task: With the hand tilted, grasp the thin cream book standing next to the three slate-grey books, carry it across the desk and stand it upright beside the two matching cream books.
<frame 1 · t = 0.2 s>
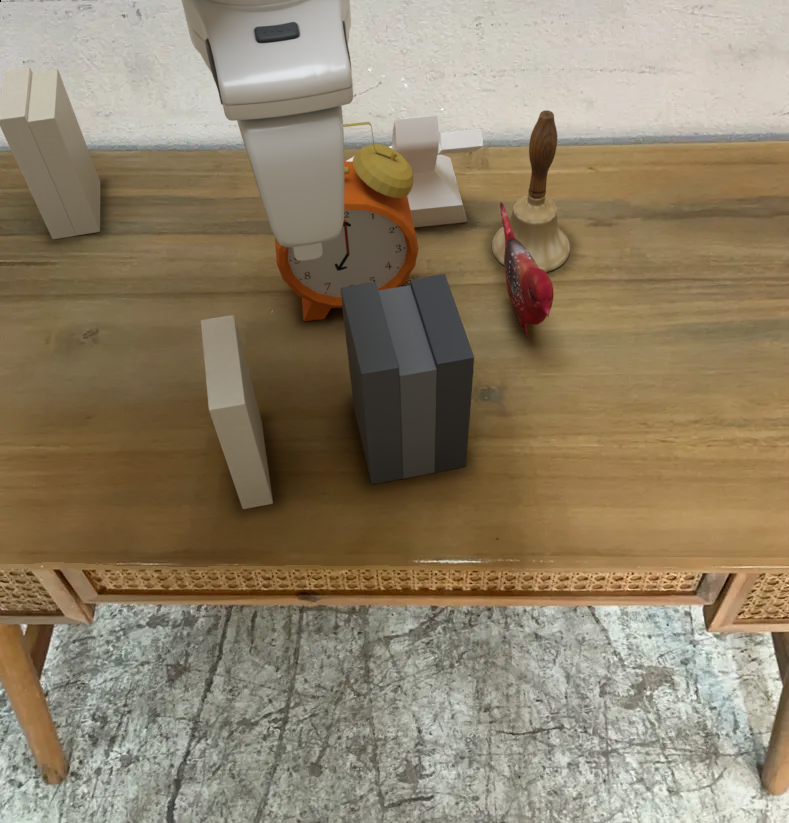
hand: (297, 205, 55), 25 cm above the table, tool pointing down, fingers open, 8 cm apart
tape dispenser: (411, 211, 93), on the table
alarm clock: (351, 299, 85), on the table
white books: (77, 210, 95), on the table
white book: (252, 463, 73), on the table
grey books: (407, 434, 75), on the table
decorative bird figurine: (516, 307, 84), on the table
hand bell: (530, 249, 89), on the table
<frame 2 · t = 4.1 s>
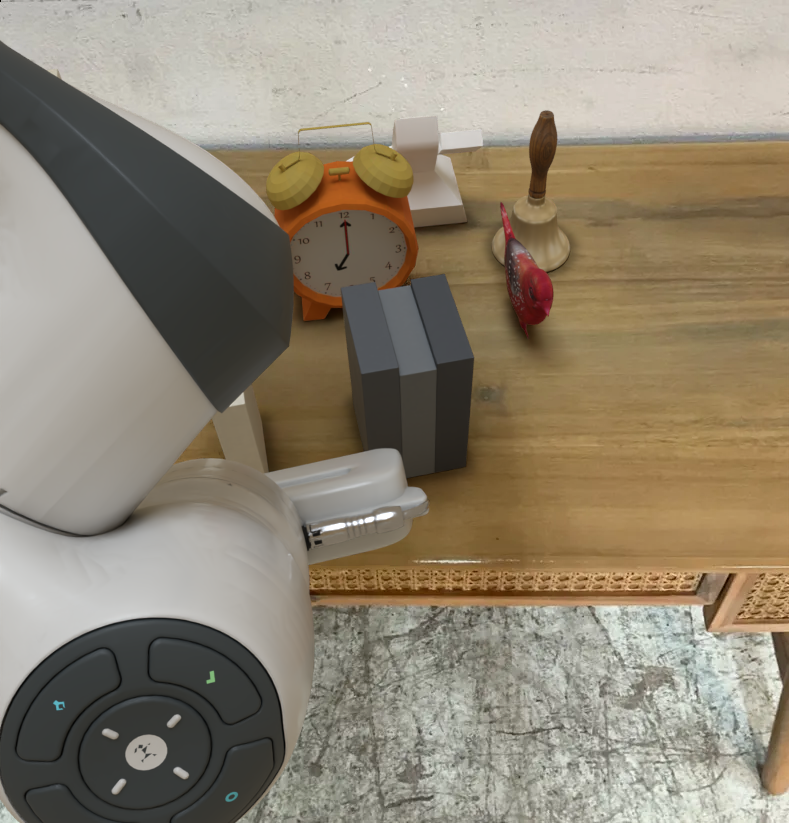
hand: (228, 495, 50), 18 cm above the table, tool tilted 45°, fingers open, 8 cm apart
nothing on the table moved.
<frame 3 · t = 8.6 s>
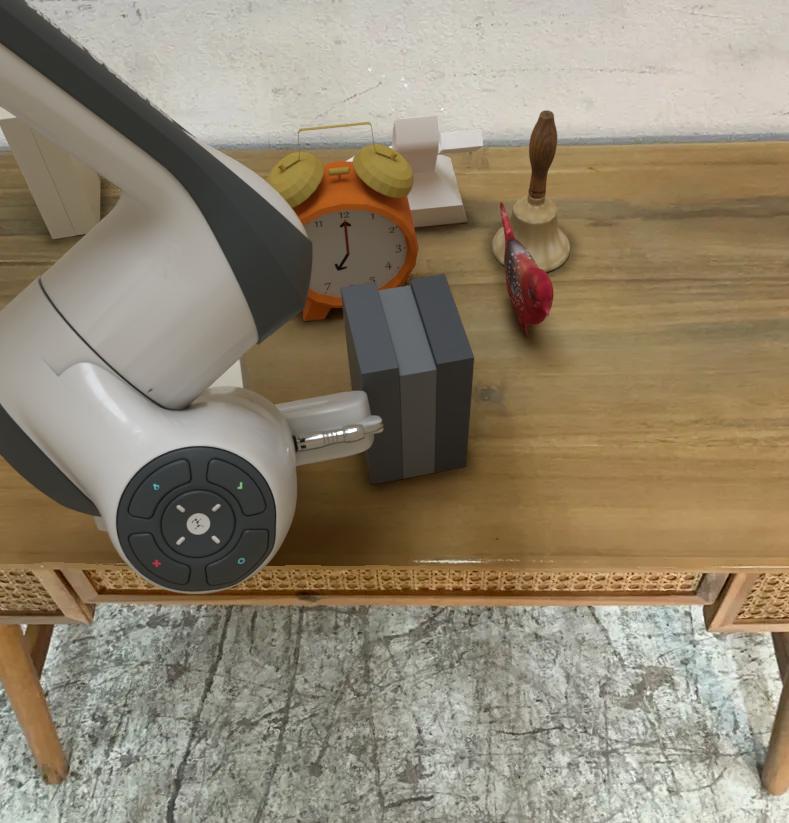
hand: (237, 426, 66), 8 cm above the table, tool tilted 45°, fingers closed on white book, 2 cm apart
white book: (252, 463, 73), on the table, touching gripper
everything else where it was.
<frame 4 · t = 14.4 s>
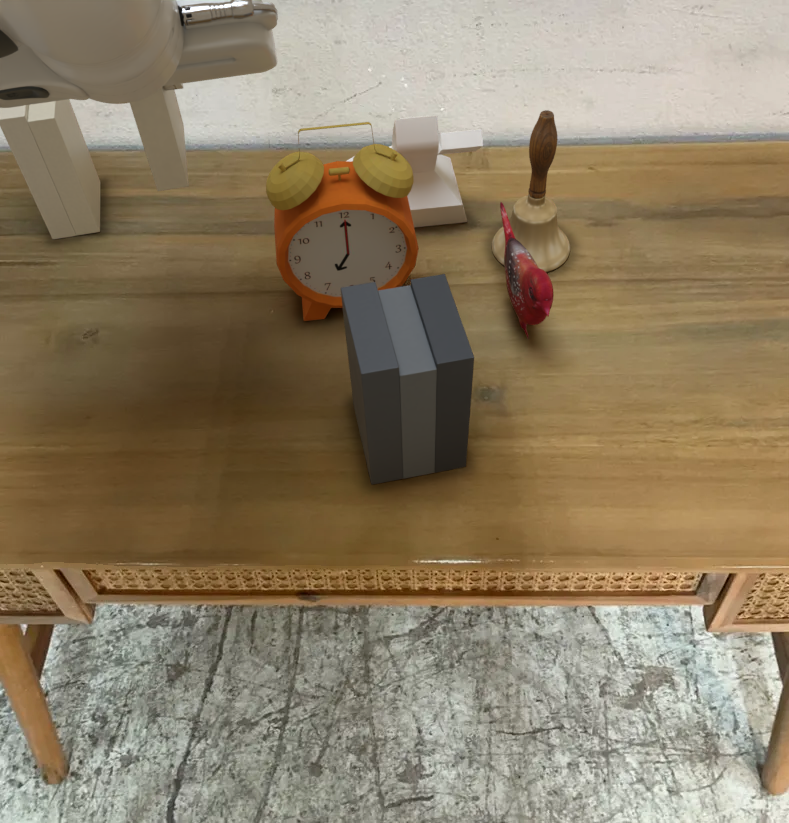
hand: (146, 82, 64), 25 cm above the table, tool tilted 45°, fingers closed on white book, 2 cm apart
white book: (171, 157, 72), point 17 cm above the table, touching gripper
everything else where it was.
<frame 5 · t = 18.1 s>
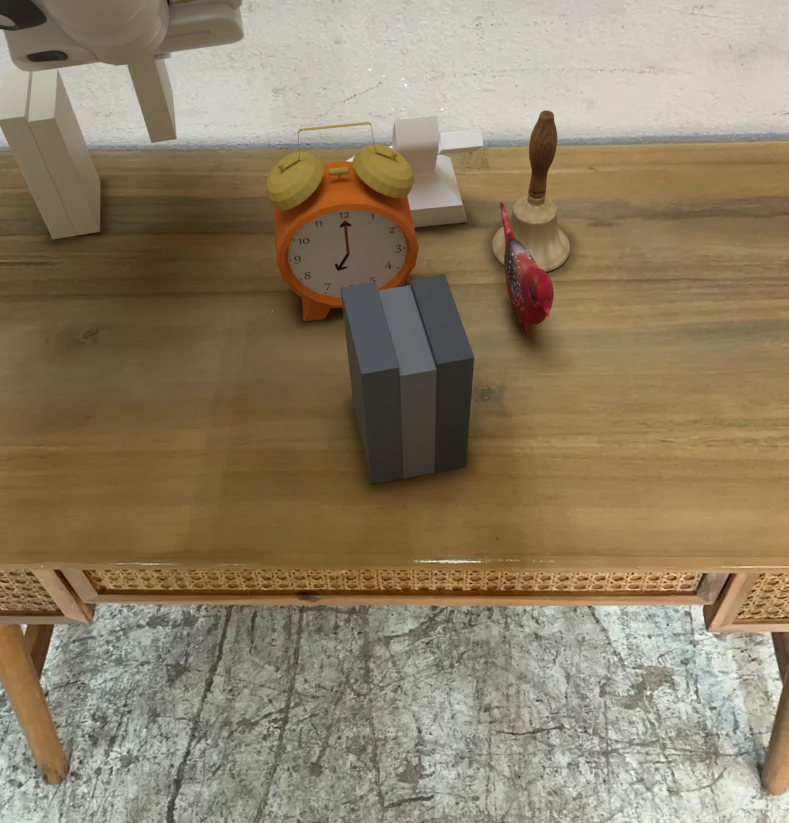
hand: (141, 53, 80), 18 cm above the table, tool tilted 45°, fingers closed on white book, 2 cm apart
white book: (162, 116, 88), point 10 cm above the table, touching gripper
everything else where it was.
when the fingers open (8 cm above the table, at t = 20.6 s): white book stays where it is, on the table.
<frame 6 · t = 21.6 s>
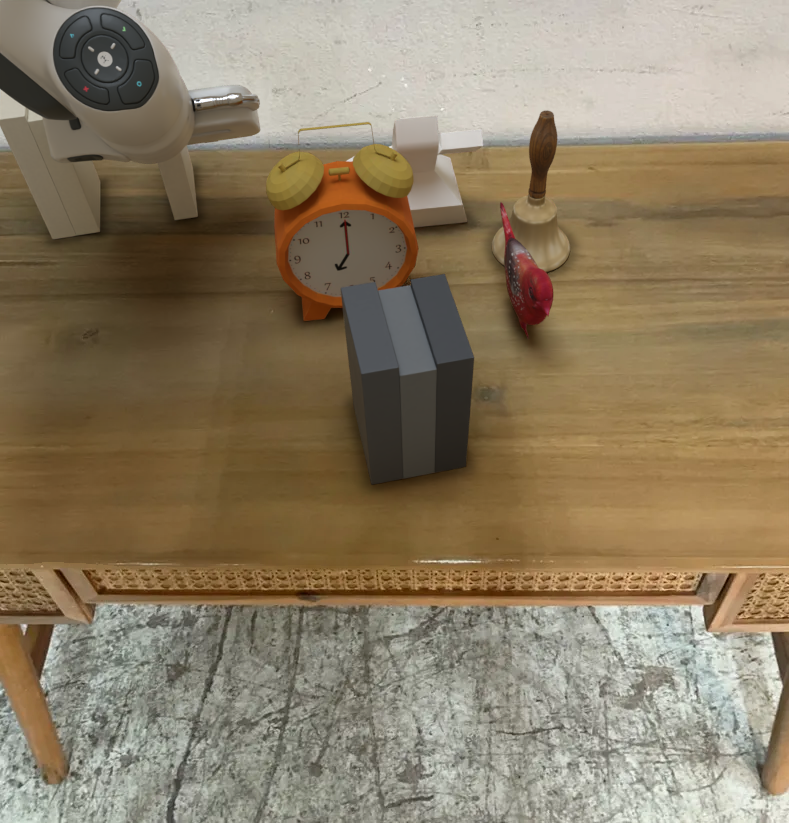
hand: (165, 140, 88), 8 cm above the table, tool tilted 45°, fingers open, 8 cm apart
white book: (184, 193, 96), on the table
everything else where it was.
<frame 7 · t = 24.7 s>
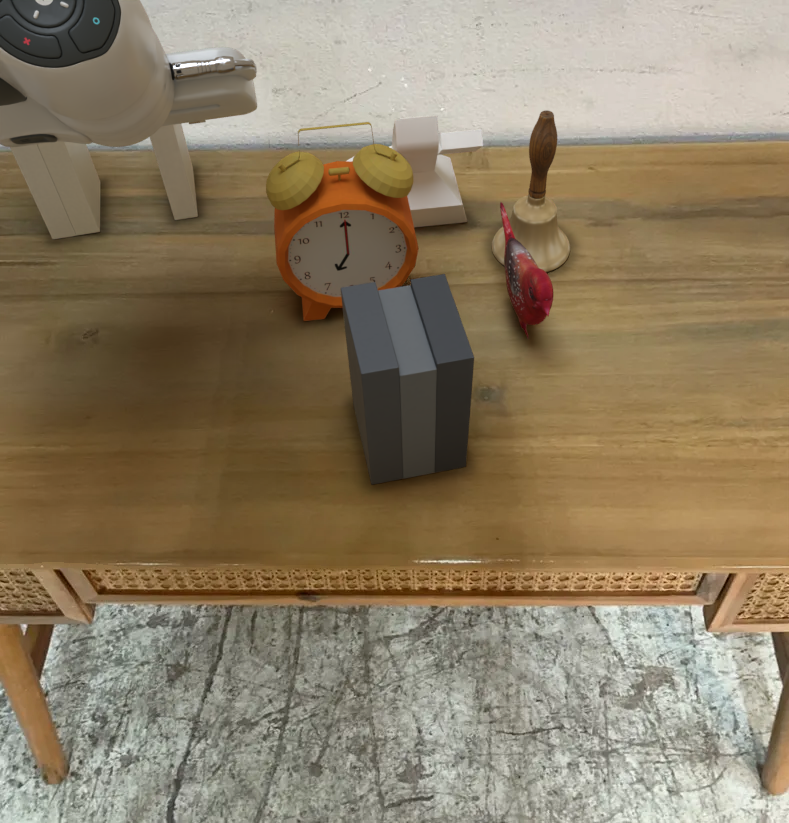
hand: (141, 121, 72), 19 cm above the table, tool tilted 45°, fingers open, 8 cm apart
nothing on the table moved.
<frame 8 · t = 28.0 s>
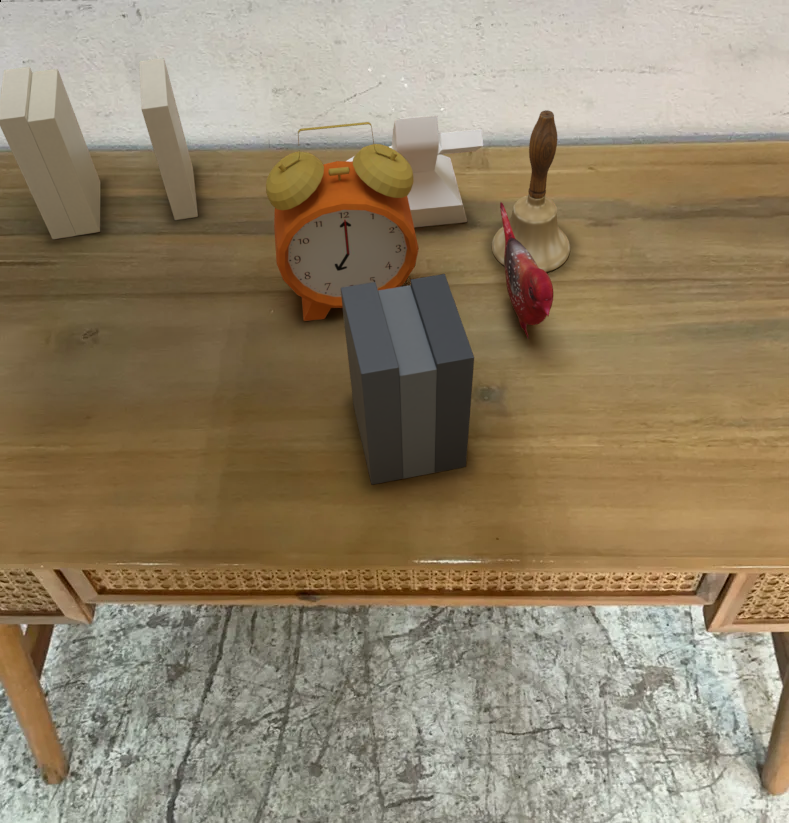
nothing on the table moved.
at the end: white book 12.1 cm from the white books (horizontally); white book tilted 0°; white book moved 39.2 cm from its start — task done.
